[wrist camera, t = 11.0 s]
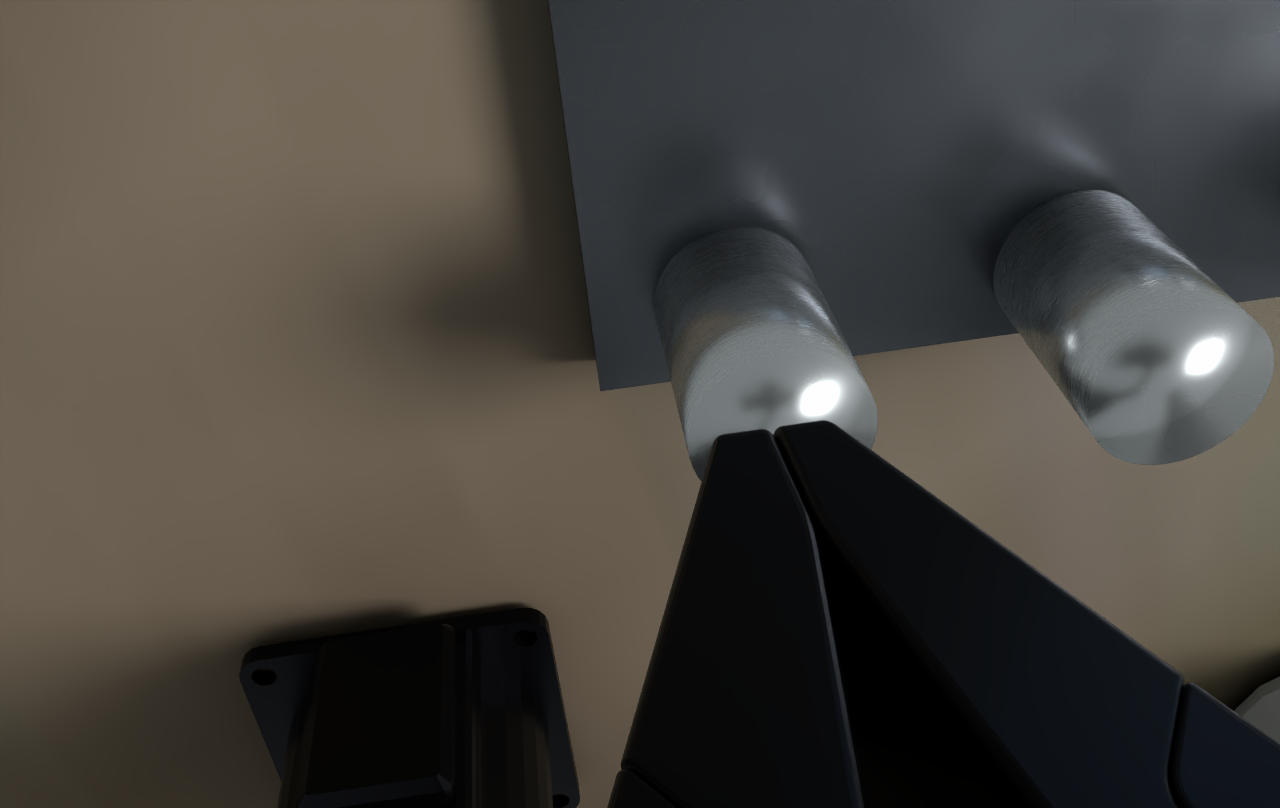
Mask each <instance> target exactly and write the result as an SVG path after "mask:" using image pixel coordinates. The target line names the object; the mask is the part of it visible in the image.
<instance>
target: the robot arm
mask: <svg viewBox="0 0 1280 808" xmlns="http://www.w3.org/2000/svg"><path fill="white" fill-rule="evenodd" d="M521 630H531V631H532V632H529V633H519V631H521ZM260 669H269V670H272V671H262V670H260ZM239 676H240V682H241V684H242V687H243V689H244V691H245V694H246V696H247V699H248V701H249V704H250V706H251V708H252V711H253V713H254V716H255V718H256V721H257V723H258V725H259V728H260V730H261V733H262V735H263V738H264V740H265V742H266V745H267V747H268V750H269V752H270V755H271V757H272V759H273V762H274V764H275V767H276V769H277V772H278V774H279V776H280V779H281V781H282V782H281V788H280V794H279V800H278V807H277V808H576V807H577V806H578V804H579V801H580V794H579V783H578V778H577V773H576V768H575V762H574V757H573V752H572V746H571V741H570V736H569V730H568V725H567V720H566V714H565V709H564V704H563V699H562V693H561V688H560V683H559V677H558V672H557V667H556V661H555V656H554V651H553V645H552V640H551V635H550V629H549V624H548V620H547V618H546V616H545V615H544V614H543V613H541V612H540V611H538V610H535V609H532V608H519V609H512V610H505V611H498V612H491V613H485V614H478V615H471V616H464V617H457V618H450V619H444V620H437V621H430V622H423V623H416V624H410V625H403V626H396V627H389V628H382V629H375V630H369V631H362V632H355V633H348V634H341V635H335V636H328V637H321V638H314V639H307V640H300V641H294V642H287V643H280V644H273V645H266V646H260V647H257V648H253V649H251V650H250V651H248V652H247V653H246V654H245V655H244V657H243V659H242V664H241V668H240V673H239ZM1183 687H1184V688H1183ZM621 769H622V770H621V771H619V772H618V774H617V776H616V780H615V783H614V786H613V790H612V793H611V797H610V800H609V804H608V807H607V808H1280V743H1279V742H1278V741H1276V740H1275V739H1273V738H1272V737H1270V736H1269V735H1268V734H1266V733H1265V732H1263V731H1262V730H1260V729H1259V728H1257V727H1256V726H1254V725H1253V724H1251V723H1250V722H1249V721H1247V720H1246V719H1244V718H1243V717H1241V716H1240V715H1239V714H1237V713H1236V712H1234V711H1233V710H1232V709H1230V708H1229V707H1227V706H1226V705H1225V704H1223V703H1222V702H1221V701H1219V700H1218V699H1216V698H1215V697H1214V696H1212V695H1211V694H1209V693H1208V692H1207V691H1205V690H1204V689H1203V688H1201V687H1200V686H1198V685H1197V684H1195V683H1187V684H1186V685H1185V686H1184V677H1183V675H1182V674H1181V673H1180V672H1178V671H1177V670H1175V669H1174V668H1173V667H1171V666H1170V665H1168V664H1167V663H1166V662H1164V661H1163V660H1162V659H1160V658H1159V657H1157V656H1156V655H1155V654H1153V653H1152V652H1150V651H1149V650H1148V649H1146V648H1145V647H1143V646H1142V645H1141V644H1139V643H1138V642H1137V641H1135V640H1134V639H1132V638H1131V637H1130V636H1128V635H1127V634H1125V633H1124V632H1123V631H1121V630H1120V629H1119V628H1117V627H1116V626H1114V625H1113V624H1112V623H1110V622H1109V621H1107V620H1106V619H1105V618H1103V617H1102V616H1100V615H1099V614H1098V613H1096V612H1095V611H1094V610H1092V609H1091V608H1089V607H1088V606H1087V605H1085V604H1084V603H1082V602H1081V601H1080V600H1078V599H1077V598H1076V597H1074V596H1073V595H1071V594H1070V593H1069V592H1067V591H1066V590H1064V589H1063V588H1062V587H1060V586H1059V585H1057V584H1056V583H1055V582H1053V581H1052V580H1051V579H1049V578H1048V577H1046V576H1045V575H1044V574H1042V573H1041V572H1039V571H1038V570H1037V569H1035V568H1034V567H1033V566H1031V565H1030V564H1028V563H1027V562H1026V561H1024V560H1023V559H1021V558H1020V557H1019V556H1017V555H1016V554H1014V553H1013V552H1012V551H1010V550H1009V549H1008V548H1006V547H1005V546H1003V545H1002V544H1001V543H999V542H998V541H996V540H995V539H994V538H992V537H991V536H990V535H988V534H987V533H985V532H984V531H983V530H981V529H980V528H978V527H977V526H976V525H974V524H973V523H971V522H970V521H969V520H967V519H966V518H965V517H963V516H962V515H960V514H959V513H958V512H956V511H955V510H953V509H952V508H951V507H949V506H948V505H947V504H945V503H944V502H942V501H941V500H940V499H938V498H937V497H935V496H934V495H933V494H931V493H930V492H928V491H927V490H926V489H924V488H923V487H922V486H920V485H919V484H917V483H916V482H915V481H913V480H912V479H910V478H909V477H908V476H906V475H905V474H904V473H902V472H901V471H899V470H898V469H897V468H895V467H894V466H892V465H891V464H890V463H888V462H887V461H885V460H884V459H883V458H881V457H880V456H879V455H877V454H876V453H874V452H873V451H872V450H870V449H869V448H867V447H866V446H865V445H863V444H862V443H861V442H859V441H858V440H856V439H855V438H854V437H852V436H851V435H849V434H848V433H847V432H845V431H844V430H843V429H841V428H840V427H838V426H837V425H836V424H834V423H832V422H829V421H826V420H820V421H813V422H806V423H799V424H792V425H785V426H781V427H778V428H777V429H776V430H775V432H774V434H772V433H771V432H770V431H768V430H765V429H757V430H750V431H743V432H736V433H729V434H722V435H719V436H718V437H717V438H716V439H715V440H714V442H713V444H712V448H711V451H710V455H709V458H708V462H707V465H706V469H705V472H704V476H703V479H702V483H701V486H700V490H699V493H698V497H697V500H696V504H695V507H694V510H693V514H692V517H691V521H690V524H689V528H688V531H687V535H686V538H685V542H684V545H683V549H682V552H681V556H680V559H679V563H678V566H677V570H676V573H675V577H674V580H673V584H672V587H671V591H670V594H669V598H668V601H667V604H666V608H665V611H664V615H663V618H662V622H661V625H660V629H659V632H658V636H657V639H656V643H655V646H654V650H653V653H652V657H651V660H650V664H649V667H648V671H647V674H646V678H645V681H644V685H643V688H642V692H641V695H640V698H639V702H638V705H637V709H636V712H635V716H634V719H633V723H632V726H631V730H630V733H629V737H628V740H627V744H626V747H625V751H624V754H623V758H622V761H621Z"/></svg>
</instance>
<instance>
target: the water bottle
mask: <svg viewBox="0 0 1280 808" xmlns="http://www.w3.org/2000/svg"><path fill="white" fill-rule="evenodd" d="M1234 712H1236V713H1237V714H1239V715H1240V716H1241V717H1243V718H1244V719H1246V720H1247V721H1249V722H1250V723H1251V724H1253V725H1254V726H1256V727H1257V728H1259V729H1260V730H1262V731H1263V732H1265V733H1266V734H1268V735H1269V736H1270V737H1272V738H1273V739H1275V740H1276V741H1278V742H1279V743H1280V677H1278V678H1276V679H1273V680H1271V681H1269V682H1267V683H1265V684H1263V685H1261V686H1259V687H1258V688H1257V689H1256V690H1255V691H1254V692H1253V693H1252V694H1251V695H1250V696H1249V697H1248V698H1247V699H1246V700H1245V701H1244V702H1243V703H1241V704H1240V705H1239V706H1238V707H1237V708H1236V709H1235V710H1234Z"/></svg>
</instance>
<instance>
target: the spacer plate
mask: <svg viewBox="0 0 1280 808" xmlns="http://www.w3.org/2000/svg"><path fill="white" fill-rule="evenodd" d="M548 5H549V12H550V20H551V27H552V35H553V42H554V50H555V57H556V65H557V72H558V80H559V87H560V95H561V102H562V110H563V117H564V125H565V133H566V140H567V148H568V155H569V163H570V170H571V178H572V185H573V193H574V200H575V208H576V215H577V223H578V230H579V238H580V245H581V253H582V260H583V268H584V276H585V283H586V291H587V298H588V306H589V313H590V321H591V328H592V336H593V343H594V351H595V358H596V365H597V372H598V378H599V384H600V391H605V390H613V389H620V388H627V387H634V386H641V385H648V384H656V383H663V382H670V381H671V384H672V388H673V392H674V396H675V400H676V404H677V408H678V412H679V416H680V420H681V424H682V428H683V432H684V436H685V441H686V445H687V449H688V453H689V457H690V460H691V463H692V466H693V469H694V470H695V472H696V474H697V476H698V477H699V479H700V480H701V481H702V479H703V476H704V472H705V469H706V465H707V462H708V458H709V455H710V451H711V448H712V444H713V442H714V440H715V439H716V438H717V437H718V436H719V435H722V434H729V433H736V432H743V431H750V430H757V429H765V430H768V431H770V432H771V433H772V434H774V432H775V430H776V429H777V428H778V427H781V426H785V425H792V424H799V423H806V422H813V421H820V420H826V421H829V422H832V423H834V424H836V425H837V426H838V427H840V428H841V429H843V430H844V431H845V432H847V433H848V434H849V435H851V436H852V437H854V438H855V439H856V440H858V441H859V442H861V443H862V444H863V445H865V446H866V447H867V448H869V449H870V450H871V448H872V446H873V443H874V440H875V436H876V432H877V423H878V419H877V409H876V405H875V401H874V399H873V396H872V394H871V392H870V389H869V387H868V385H867V383H866V381H865V379H864V377H863V375H862V373H861V371H860V369H859V367H858V365H857V363H856V361H855V359H854V357H853V356H856V355H864V354H871V353H878V352H885V351H892V350H899V349H907V348H914V347H921V346H928V345H935V344H943V343H950V342H957V341H964V340H971V339H978V338H986V337H993V336H1000V335H1007V334H1014V333H1020V335H1021V336H1022V338H1023V339H1024V340H1025V342H1026V343H1027V345H1028V346H1029V347H1030V349H1031V350H1032V351H1033V353H1034V354H1035V356H1036V357H1037V358H1038V360H1039V361H1040V363H1041V364H1042V365H1043V367H1044V368H1045V369H1046V371H1047V372H1048V374H1049V375H1050V376H1051V378H1052V379H1053V381H1054V382H1055V383H1056V385H1057V386H1058V387H1059V389H1060V390H1061V392H1062V393H1063V394H1064V396H1065V397H1066V399H1067V400H1068V401H1069V403H1070V404H1071V405H1072V407H1073V408H1074V410H1075V411H1076V412H1077V414H1078V415H1079V417H1080V418H1081V419H1082V421H1083V422H1084V424H1085V425H1086V426H1087V428H1088V429H1089V430H1090V432H1091V433H1092V435H1093V436H1094V437H1095V439H1096V440H1097V441H1098V443H1099V444H1100V445H1101V447H1103V448H1104V449H1105V450H1106V451H1107V452H1108V453H1110V454H1111V455H1113V456H1114V457H1116V458H1119V459H1121V460H1123V461H1127V462H1130V463H1135V464H1142V465H1158V464H1167V463H1172V462H1177V461H1181V460H1184V459H1188V458H1190V457H1193V456H1195V455H1198V454H1200V453H1202V452H1204V451H1206V450H1208V449H1210V448H1212V447H1214V446H1216V445H1217V444H1219V443H1220V442H1222V441H1223V440H1225V439H1226V438H1228V437H1229V436H1230V435H1232V434H1233V433H1234V432H1235V431H1236V430H1237V429H1239V428H1240V427H1241V426H1242V425H1243V424H1244V423H1245V422H1246V421H1247V420H1248V419H1249V417H1250V416H1251V415H1252V414H1253V413H1254V411H1255V410H1256V409H1257V407H1258V406H1259V404H1260V403H1261V401H1262V399H1263V398H1264V396H1265V394H1266V392H1267V390H1268V387H1269V385H1270V382H1271V378H1272V374H1273V369H1274V353H1273V347H1272V344H1271V341H1270V338H1269V337H1268V335H1267V333H1266V331H1265V330H1264V329H1263V328H1262V327H1261V326H1260V324H1259V323H1258V322H1256V321H1255V320H1254V319H1253V318H1252V317H1251V316H1250V315H1249V314H1248V313H1247V312H1246V311H1245V310H1244V309H1243V308H1242V307H1241V306H1240V305H1239V304H1238V303H1237V302H1244V301H1251V300H1258V299H1265V298H1272V297H1280V0H548Z"/></svg>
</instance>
